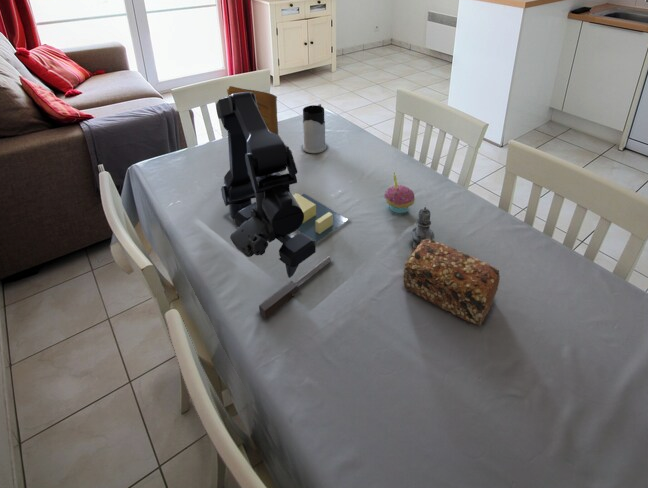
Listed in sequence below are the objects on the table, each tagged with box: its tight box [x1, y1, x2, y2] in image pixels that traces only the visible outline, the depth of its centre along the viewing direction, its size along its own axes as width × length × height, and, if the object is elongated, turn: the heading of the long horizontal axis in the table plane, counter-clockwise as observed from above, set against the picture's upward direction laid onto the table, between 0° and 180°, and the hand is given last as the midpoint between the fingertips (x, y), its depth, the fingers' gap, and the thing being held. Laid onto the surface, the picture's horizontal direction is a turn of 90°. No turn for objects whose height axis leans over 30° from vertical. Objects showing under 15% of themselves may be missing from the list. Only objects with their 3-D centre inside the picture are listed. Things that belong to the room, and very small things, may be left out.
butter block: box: [292, 192, 316, 223], centre depth 119 cm, size 8×5×4 cm, turn 49°
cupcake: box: [384, 172, 416, 214], centre depth 121 cm, size 9×8×12 cm
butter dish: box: [297, 193, 349, 243], centre depth 119 cm, size 18×12×1 cm, turn 49°
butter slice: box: [315, 212, 333, 234], centre depth 113 cm, size 2×5×4 cm, turn 139°
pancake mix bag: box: [226, 85, 279, 135], centre depth 139 cm, size 7×19×28 cm, turn 58°
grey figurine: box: [410, 206, 435, 250], centre depth 108 cm, size 6×6×12 cm
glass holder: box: [302, 103, 328, 154], centre depth 156 cm, size 9×14×15 cm, turn 170°
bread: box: [403, 239, 501, 327], centre depth 94 cm, size 19×11×10 cm, turn 54°
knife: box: [258, 255, 331, 320], centre depth 96 cm, size 2×20×2 cm, turn 139°
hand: (276, 264), depth 88 cm, fingers open, 9 cm apart
